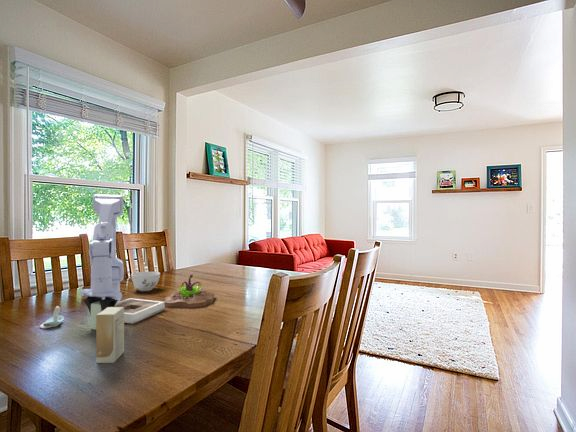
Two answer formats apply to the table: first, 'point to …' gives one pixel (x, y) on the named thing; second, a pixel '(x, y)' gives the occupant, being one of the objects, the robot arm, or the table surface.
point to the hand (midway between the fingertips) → (101, 319)
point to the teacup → (145, 280)
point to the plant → (189, 297)
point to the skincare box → (109, 334)
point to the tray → (142, 313)
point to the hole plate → (134, 306)
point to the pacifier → (53, 319)
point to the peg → (94, 313)
